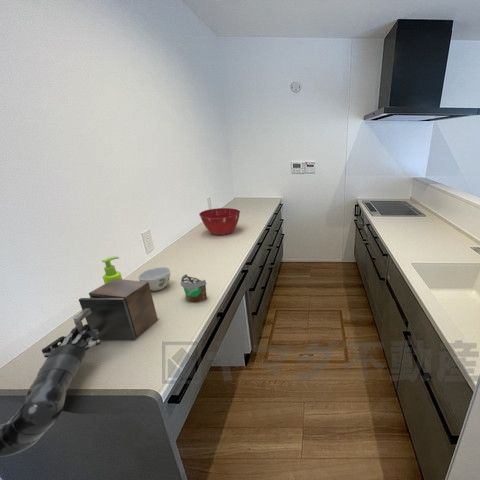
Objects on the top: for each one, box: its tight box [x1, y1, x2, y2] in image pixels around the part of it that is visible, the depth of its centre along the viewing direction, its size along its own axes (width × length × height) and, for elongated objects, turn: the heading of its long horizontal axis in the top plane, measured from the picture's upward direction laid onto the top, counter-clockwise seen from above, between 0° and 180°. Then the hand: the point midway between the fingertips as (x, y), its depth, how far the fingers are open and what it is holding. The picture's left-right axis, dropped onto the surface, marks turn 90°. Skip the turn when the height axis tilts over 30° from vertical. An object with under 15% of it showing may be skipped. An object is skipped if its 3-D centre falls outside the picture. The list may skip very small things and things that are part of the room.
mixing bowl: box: [199, 207, 241, 236], centre depth 195 cm, size 28×28×16 cm
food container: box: [180, 273, 208, 303], centre depth 113 cm, size 12×6×10 cm, turn 65°
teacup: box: [137, 266, 171, 292], centre depth 121 cm, size 15×12×8 cm
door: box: [72, 297, 137, 342], centre depth 86 cm, size 6×14×17 cm, turn 91°
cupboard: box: [88, 278, 159, 339], centre depth 94 cm, size 10×14×17 cm
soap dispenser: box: [101, 256, 123, 284], centre depth 109 cm, size 6×7×20 cm
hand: (82, 327), depth 84 cm, fingers closed on door
